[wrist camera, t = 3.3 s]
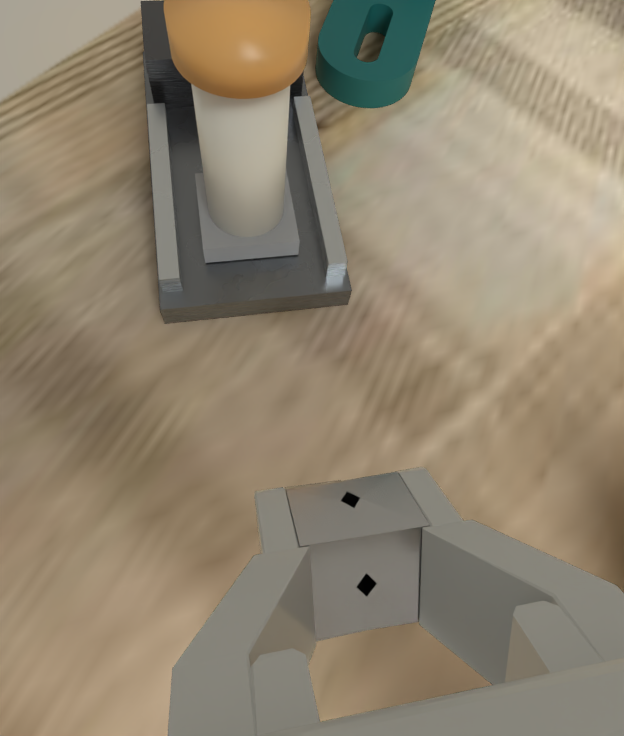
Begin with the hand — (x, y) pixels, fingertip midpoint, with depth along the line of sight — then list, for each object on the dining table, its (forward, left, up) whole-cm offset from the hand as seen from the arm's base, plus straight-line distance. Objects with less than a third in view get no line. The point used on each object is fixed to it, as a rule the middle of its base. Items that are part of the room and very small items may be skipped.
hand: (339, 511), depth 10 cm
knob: (0, -18, -15) cm, 24 cm away
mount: (0, -23, -17) cm, 28 cm away
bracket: (-12, -37, -17) cm, 42 cm away
